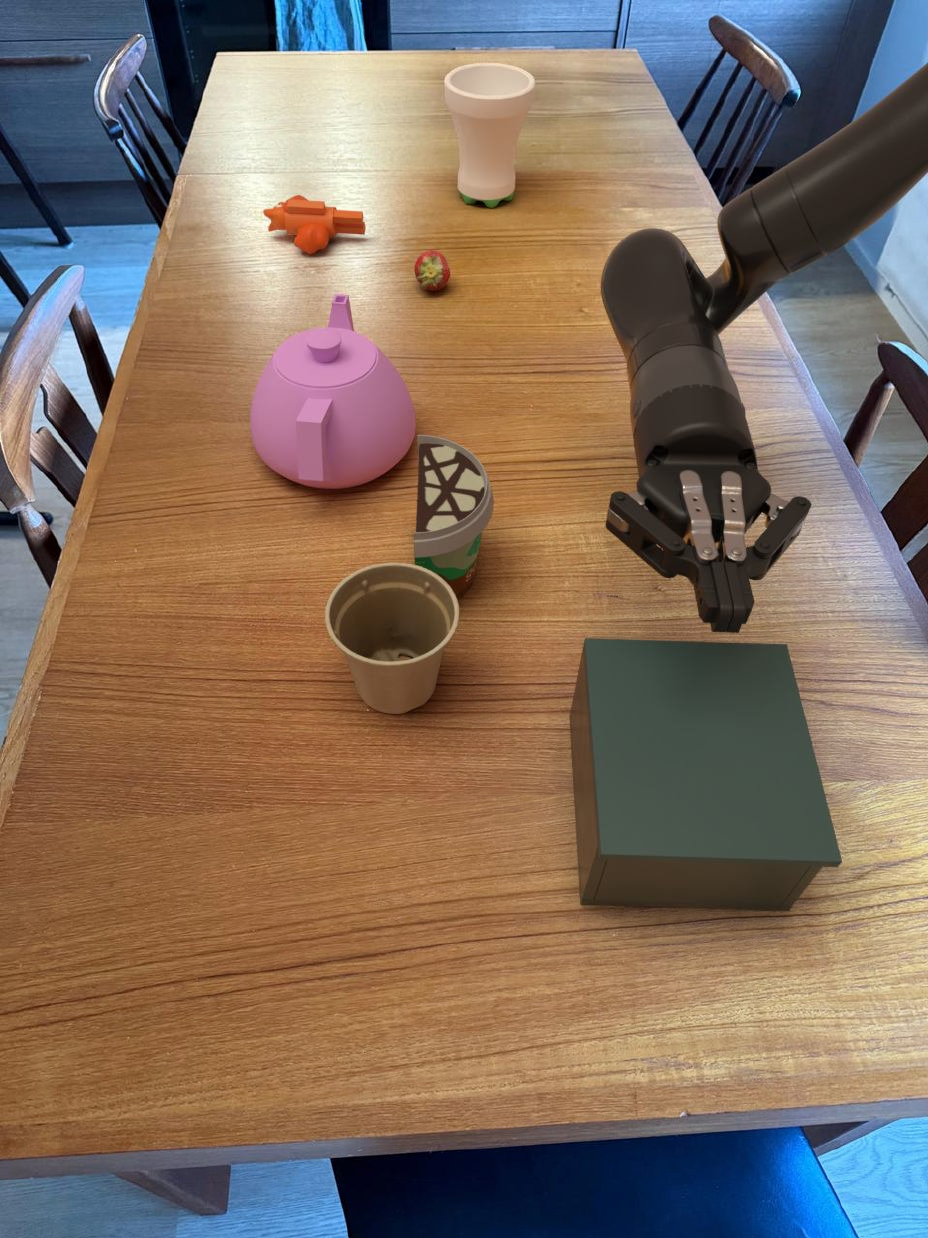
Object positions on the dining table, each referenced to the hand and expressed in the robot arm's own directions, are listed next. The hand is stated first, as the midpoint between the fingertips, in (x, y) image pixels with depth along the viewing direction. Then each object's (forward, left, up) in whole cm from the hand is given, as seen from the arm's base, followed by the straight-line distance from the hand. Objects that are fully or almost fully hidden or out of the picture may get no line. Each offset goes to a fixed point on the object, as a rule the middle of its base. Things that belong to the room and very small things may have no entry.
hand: (728, 623), depth 50 cm
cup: (+14, -88, -18) cm, 91 cm away
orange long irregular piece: (+35, -74, -18) cm, 84 cm away
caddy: (0, +2, -18) cm, 18 cm away
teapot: (+28, -36, -18) cm, 49 cm away
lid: (0, +2, -9) cm, 9 cm away
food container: (+16, -20, -18) cm, 31 cm away
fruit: (+20, -65, -18) cm, 70 cm away
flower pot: (+20, -8, -18) cm, 28 cm away
